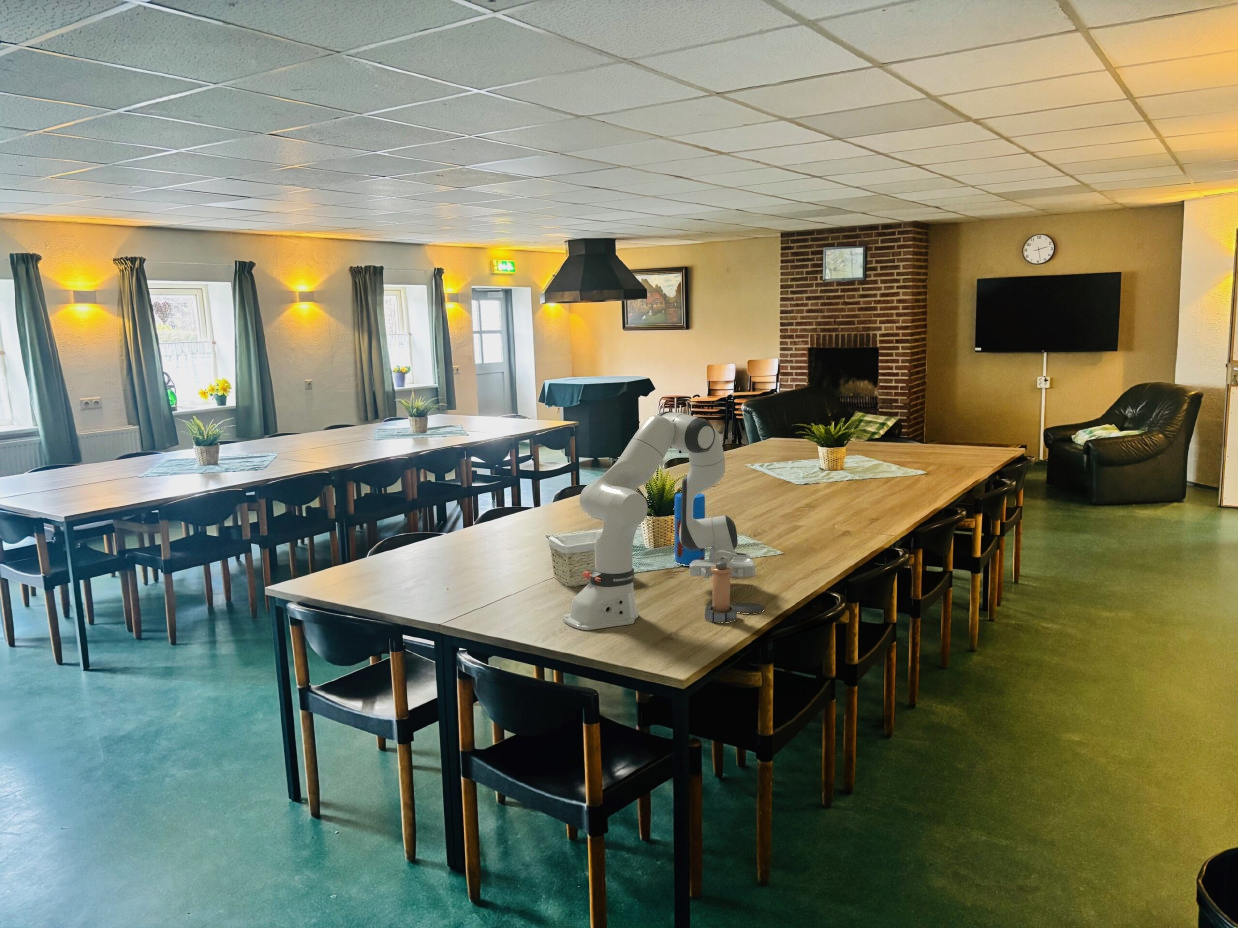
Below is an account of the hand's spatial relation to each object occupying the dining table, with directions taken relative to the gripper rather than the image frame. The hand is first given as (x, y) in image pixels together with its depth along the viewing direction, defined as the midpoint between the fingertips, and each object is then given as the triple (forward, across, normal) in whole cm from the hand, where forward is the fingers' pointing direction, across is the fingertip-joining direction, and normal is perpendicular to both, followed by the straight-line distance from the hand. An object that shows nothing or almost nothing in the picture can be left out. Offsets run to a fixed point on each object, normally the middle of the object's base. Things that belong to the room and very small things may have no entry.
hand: (722, 575), depth 266 cm
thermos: (-50, -12, +10) cm, 52 cm away
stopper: (+12, 0, +9) cm, 16 cm away
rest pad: (+3, +8, +9) cm, 13 cm away
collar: (+12, 0, +9) cm, 16 cm away
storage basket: (-27, -45, +10) cm, 54 cm away
